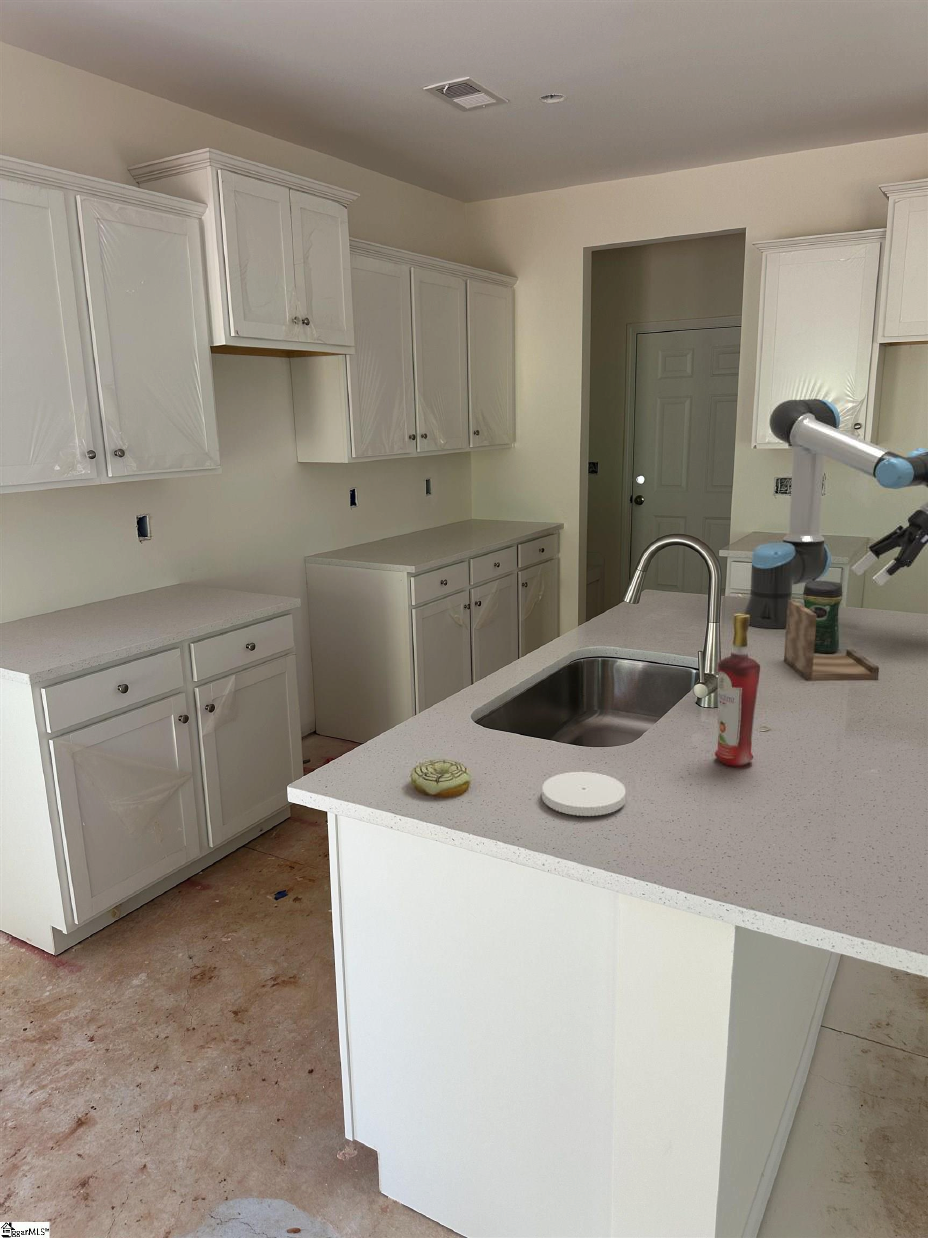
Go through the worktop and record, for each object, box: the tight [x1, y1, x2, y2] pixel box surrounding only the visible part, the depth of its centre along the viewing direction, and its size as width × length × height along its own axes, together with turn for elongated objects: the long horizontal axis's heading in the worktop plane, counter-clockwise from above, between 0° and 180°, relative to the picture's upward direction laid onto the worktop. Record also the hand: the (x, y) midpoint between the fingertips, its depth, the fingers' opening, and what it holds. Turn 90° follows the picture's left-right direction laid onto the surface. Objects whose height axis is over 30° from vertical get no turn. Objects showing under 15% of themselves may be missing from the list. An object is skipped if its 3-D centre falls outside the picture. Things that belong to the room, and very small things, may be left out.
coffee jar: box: [802, 580, 844, 653], centre depth 231 cm, size 10×8×19 cm
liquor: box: [714, 613, 761, 768], centre depth 159 cm, size 7×7×28 cm
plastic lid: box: [541, 771, 627, 817], centre depth 148 cm, size 14×14×2 cm
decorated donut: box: [410, 758, 472, 798], centre depth 155 cm, size 10×11×4 cm
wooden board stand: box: [783, 599, 880, 681], centre depth 214 cm, size 16×17×16 cm
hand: (865, 577), depth 228 cm, fingers open, 13 cm apart
